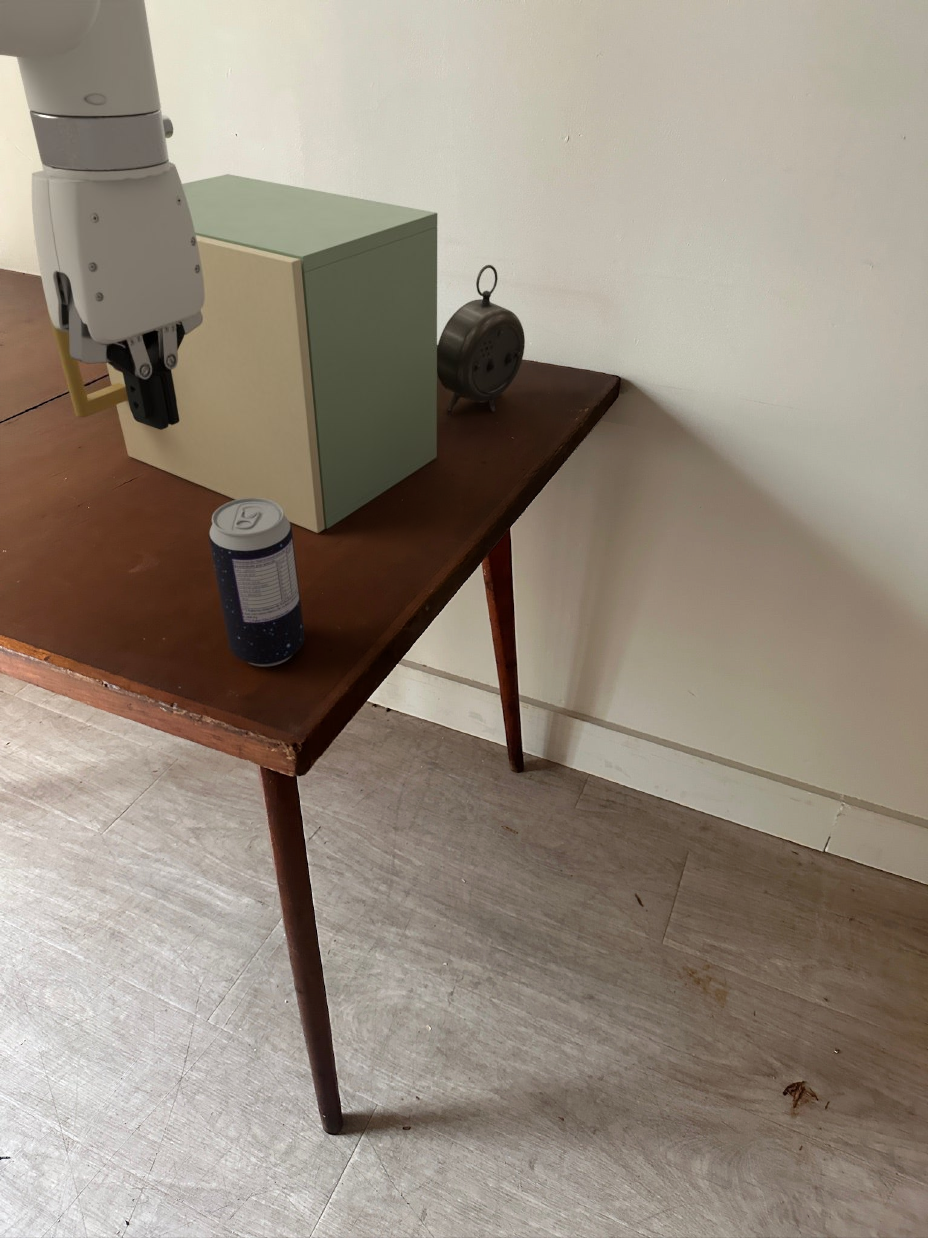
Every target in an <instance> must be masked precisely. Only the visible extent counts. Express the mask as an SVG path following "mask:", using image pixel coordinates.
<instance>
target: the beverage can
mask: <svg viewBox="0 0 928 1238" xmlns="http://www.w3.org/2000/svg"><path fill="white" fill-rule="evenodd" d="M208 539H209V546H210V550H211V557H212V562H213V566H214V567H213V568H214V573H215V576H216V583H217V588H218V593H219V599H220V604H221V608H222V615H223V620H224V625H225V630H226V635H227V642H228V646H229V650H230V651H231V653H232V654H233V655H234V656H235V658H237V659H239V660H241V661H243V662H245V663H248V664H249V665H252V666H256V667H263V668H264V667H265V668H267V667H273V666H277V665H280V664H282V663H284V662H286V661H288V660H289V659H290V658H292V656H293V655H295V654H296V653H297V652H298V651H299V650H300V649H301V648H302V646H303V645H304V642H305V627H304V620H303V613H302V611H303V610H302V602H301V594H300V586H299V579H298V569H297V568H298V567H297V560H296V552H295V544H294V543H295V542H294V534H293V527H292V524H291V522H289V521H288V519H287V518H286V517H285V515H284V510H283V508H282V507H281V506H280V505H279V504H278V503H276V502H274V501H271V500H268V499H263V498H243V499H238V500H235V499H233V500H231V501H228V502H226V503H224V504H223V505H220V506H219V507H218V508H217V509H216V510H215V511H214V512H213V514H212V516H211V526H210V528H209V532H208Z"/></svg>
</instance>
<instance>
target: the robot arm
mask: <svg viewBox="0 0 928 1238" xmlns="http://www.w3.org/2000/svg"><path fill="white" fill-rule="evenodd" d="M0 56H6V57H13V58H16V59H17V63H18V64H17V65H18V67H19V74H20V77H21V82H22V86H23V90H24V94H25V98H26V102H27V107H28V110H29V116H30V120H31V125H32V129H33V132H34V137H35V140H36V145H37V150H38V154H39V159H40V162H41V166H42V170H40V171H35V172H34V171H33V172H31V212H32V223H33V231H34V232H33V233H34V241H35V247H36V253H37V259H38V266H39V271H40V278H41V282H42V283H41V284H42V287H43V293H44V297H45V302H46V306H47V311H48V310H49V314H50V318H51V320H52V323H53V325H54V327H55V328H56V329H57V330H59V331H62V332H67V333H69V347H70V356H71V358H73V359H74V360H77V361H78V362H80V363H84V364H86V365H90V364H91V365H92V364H93V365H94V364H106V363H109V364H110V365H111V366H113V368H114V369H115V370H117V371H120V372H122V373H123V377H124V382H125V387H126V392H127V396H128V401H129V406H130V410H131V412H132V414H133V417H134V419H135V420H136V421H137V422H140V423H143V424H145V425H148V426H151V427H154V428H157V429H159V430H162V429H165V428H167V427H168V425H169V424H170V425H174V424H176V423H178V422H179V414H178V409H177V400H176V394H175V389H174V383H173V377H172V372H171V370H172V369H174V368H175V367H176V366H177V363H178V353H177V351H178V349H179V346H180V344H181V342H182V340H183V338H184V335H187V334H188V333H190V332H191V331H192V330H194V329H195V328H197V327H198V326H199V325H200V324H201V323H202V321H203V316H202V313H201V309H202V307H203V306H204V301H205V289H204V279H203V271H202V265H201V259H200V253H199V248H198V244H197V239H196V234H195V230H194V225H193V221H192V217H191V213H190V210H189V206H188V202H187V199H186V196H185V192H184V189H183V186H182V184H183V183H182V179H181V177H180V175H179V172H178V169H177V166H176V164H175V163H173V162H170V159H169V152H168V145H167V139H171V138H172V137H173V135H174V125H173V123H172V120H171V119H170V118H169V116H167V115H166V114H163V113H162V109H161V108H162V106H161V99H160V92H159V86H158V80H157V74H156V73H157V72H156V67H155V61H154V53H153V49H152V42H151V34H150V28H149V22H148V15H147V10H146V1H145V0H0ZM49 314H48V315H49ZM50 318H49V319H50Z"/></svg>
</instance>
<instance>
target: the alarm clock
mask: <svg viewBox="0 0 928 1238" xmlns="http://www.w3.org/2000/svg"><path fill="white" fill-rule="evenodd" d="M487 269H491V270H492V271H493V275H494V282H493V286H492V288H491V289H490V291H489V290H483V292H481V290H480V280H481V276H482V275H483V273H484V271H485V270H487ZM475 283H476V291H477V294H478V295H480V296H481V297H482V298H481V299H480V298H479V299H474V300H471V301H469V302H467V303H465V304H463V305H462V306H460V307H459V308H458V309H457V310H456V311H455V312H454V313H453V314H452V316H451V317H450V318H449V319H448V321H447V322H446V324H445V326H444V328H443V330H442V332H441V335H440V337H439V340H438V342H437V378H438V380H439V382H440V383H441V385H442V386H443V387H444V388H445V390H448V391H449V392H451V393H453V396H452V398H451V401H450V404H449V407H447V408H446V413H448V414H451V413H452V411H453V408H454V407H455V406H456V404H457V403H458V402H459V399H460V398H463V399H465V400H467V401H468V402H472V403H478V404H480V403H481V404H482V403H487V402H488V404H489V408H490V411H492V412H494V413H495V412H496V406H495V399H496V398H497V397H499V396H500V395H502V394H503V392H505V391H506V390H507V389H508V388H509V386H510V385H511V384H512V382H513V381H514V379H515V377H516V376H517V374H518V372H519V369H520V367H521V364H522V361H523V357H524V354H525V347H526V346H525V344H526V340H525V339H526V338H525V330H524V328H523V324H522V322H521V320H520V319H519V317H518V316H517V315H516V314H515V313H514V312H513V311H512V310H510V309H507V308H505V307H503V306H500V305H498V304H496V303H494V302H491V301H490V298H491V296H492V294H493V293H494V291H495V289H496V287H497V284H498V272H497V269H496V268H495V266H493V264H486V265H485V266H483V267H482V268H480V270H479V272H478V274H477V277H476V282H475Z"/></svg>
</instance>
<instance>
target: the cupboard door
mask: <svg viewBox="0 0 928 1238" xmlns="http://www.w3.org/2000/svg"><path fill="white" fill-rule="evenodd" d="M196 239H197V244H198V248H199V253H200V259H201V265H202V271H203V279H204V289H205V301H204V306H203V307H202V309H201V313H202V316H203V321H202V323H201V324H200V325H199V326H198V327H197V328H195V329H194V330H192V331H191V332H190V333H188V334H187V335H184V338H183V340H182V342H181V344H180V346H179V349H178V351H177V353H178V363H177V366H176V367H175V368H174V369H172V370H171V372H172V377H173V383H174V389H175V394H176V400H177V409H178V414H179V422H178V423H176V424H174V425H170V424H169V425H168V427H167V428H165V429H162V430H159V429H157V428H154V427H151V426H148V425H145V424H143V423H140V422H137V421H136V420H135V419H134V417H133V414H132V412H131V410H130V406H129V401H128V396H127V392H126V387H125V382H124V377H123V373H122V372H120V371H117V370H115V369H114V368H113V366H111V365H110V364H109V363H105V364H106V367H107V372H108V376H109V380H110V384H111V385H109V386H106V387H104V388H101V389H98V390H96V391H93V392H91V393H88V394H87V391H86V388H85V382H84V380H83V376H82V372H81V368H80V364H79V361H77V360H74V359H73V358H71V356H70V347H69V333H67V332H62V331H59V330H57V329H56V328H55V327H54V325H53V323H52V320H51V318H50V314H49V310H48V309H47V313H48V314H47V315H48V317H49V321H50V325H51V328H52V332H53V333H52V334H53V336H54V339H55V343H56V348H57V351H58V355H59V358H60V362H61V366H62V371H63V374H64V377H65V381H66V385H67V388H68V391H69V392H68V393H69V395H70V398H71V404H72V406H73V409H74V414H75V416H76V417H77V418H86V417H90V416H92V415H94V414H97V413H99V412H102V411H105V410H107V409H109V408H111V407H114V406H116V409H117V410H116V411H117V414H118V418H119V423H120V427H121V431H122V435H123V439H124V444H125V447H126V451H127V456H128V457H130V458H132V459H135V460H137V461H140V462H142V463H144V464H147V465H149V466H153V467H155V468H157V469H159V470H162V471H164V472H167V473H169V474H172V475H174V476H176V477H178V478H182V479H184V480H186V481H189V482H191V483H194V484H196V485H198V486H201V487H204V488H206V489H208V490H211V491H213V492H216V493H218V494H221V495H222V496H223V495H224V496H225V497H228V498H230V499H232V500H238V499H243V498H263V499H268V500H271V501H274V502H276V503H278V504H279V505H280V506H281V507H282V508H283V510H284V515H285V517H286V518H287V519H288V521H289V522H290V523H292V524H294V525H296V526H299V527H301V528H304V529H307V530H309V531H311V532H313V533H316V534H320V533H321V532H322V531H324V530H325V529H326V528H325V527H324V516H323V504H322V493H321V482H320V471H319V460H318V448H317V437H316V426H315V415H314V403H313V392H312V381H311V370H310V359H309V347H308V336H307V325H306V314H305V302H304V291H303V280H302V269H301V260H300V259H296V258H292V257H288V256H283V255H279V254H275V253H271V252H266V251H262V250H258V249H253V248H249V247H245V246H241V245H236V244H232V243H228V242H223V241H219V240H215V239H210V238H206V237H202V236H198V235H196Z"/></svg>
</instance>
